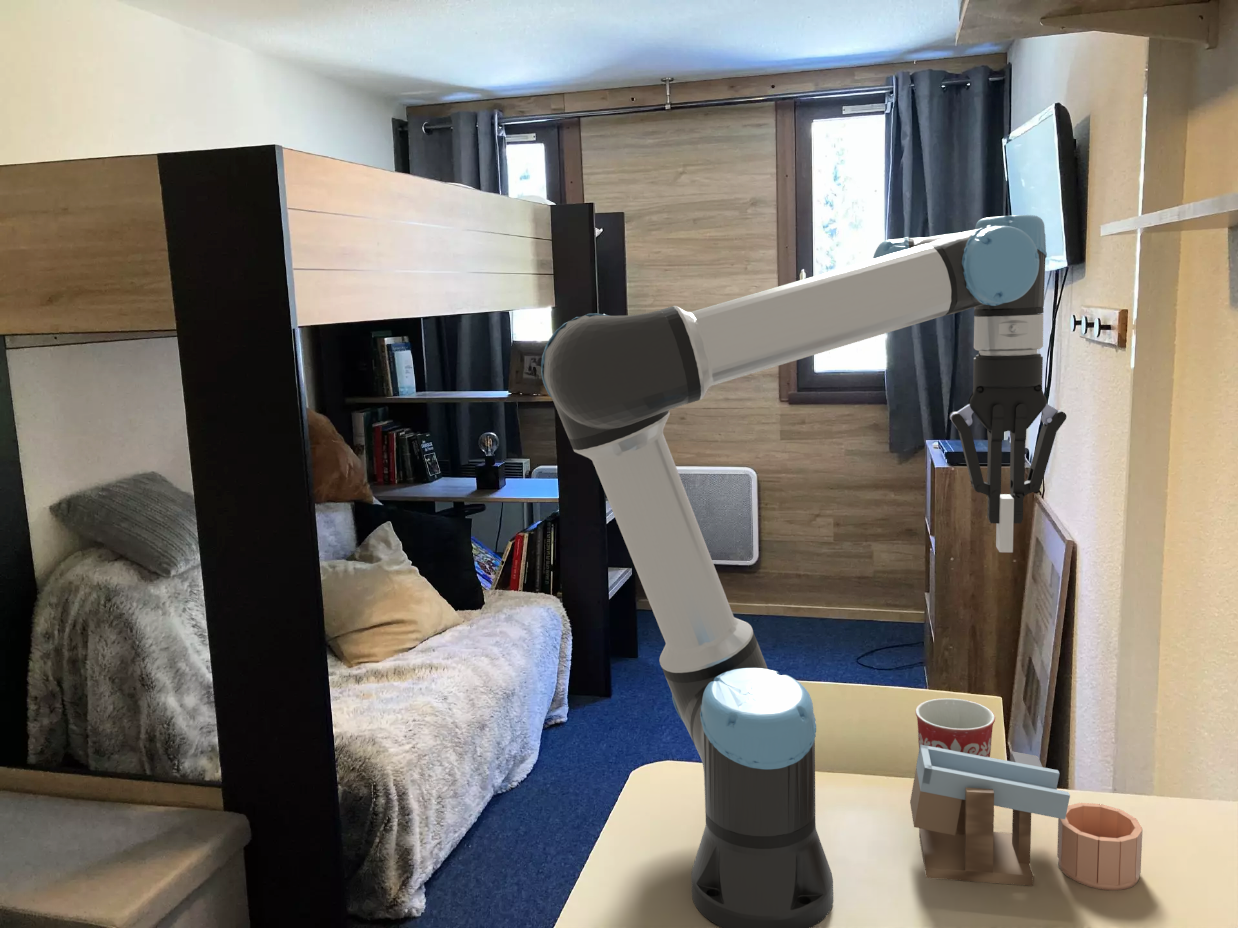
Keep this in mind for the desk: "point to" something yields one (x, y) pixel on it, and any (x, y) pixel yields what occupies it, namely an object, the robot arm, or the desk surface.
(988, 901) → the desk surface
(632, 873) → the desk surface
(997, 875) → the stand
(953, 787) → the chute
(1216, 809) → the desk surface
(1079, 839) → the cup
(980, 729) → the mug
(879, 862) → the desk surface
